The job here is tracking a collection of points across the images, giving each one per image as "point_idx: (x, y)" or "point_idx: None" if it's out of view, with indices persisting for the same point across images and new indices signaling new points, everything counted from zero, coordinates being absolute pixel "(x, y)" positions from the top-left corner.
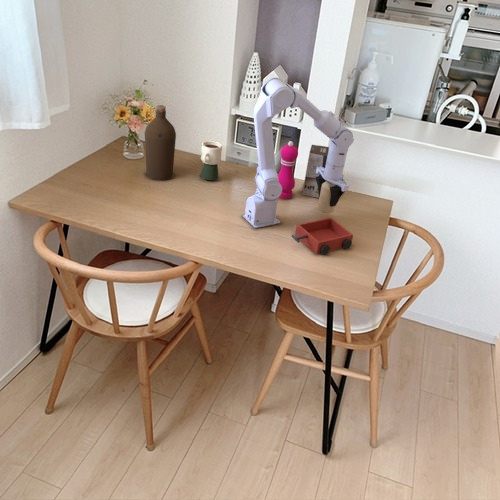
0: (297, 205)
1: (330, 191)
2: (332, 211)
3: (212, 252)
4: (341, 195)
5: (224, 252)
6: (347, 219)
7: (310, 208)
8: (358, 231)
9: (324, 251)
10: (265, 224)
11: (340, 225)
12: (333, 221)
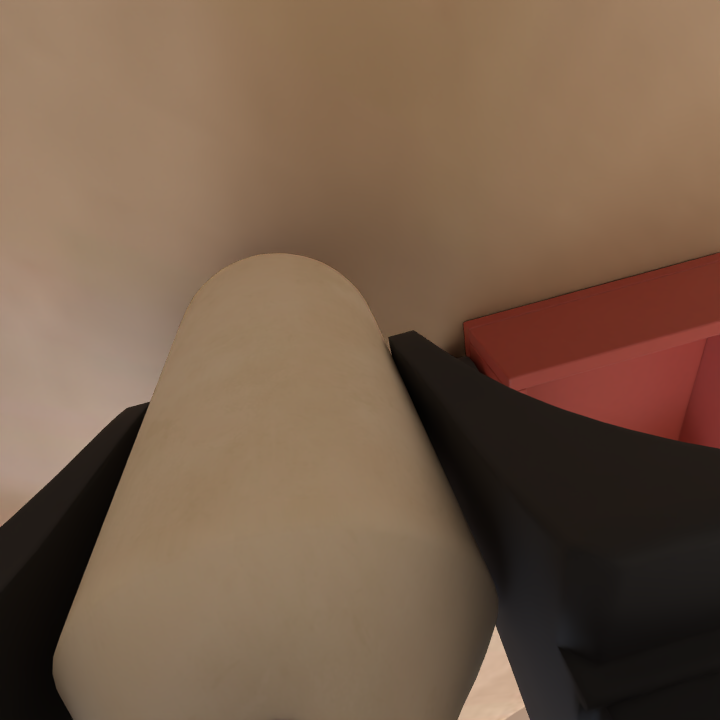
0: (60, 452)
1: (513, 661)
2: (364, 300)
3: (487, 711)
4: (554, 414)
5: (499, 693)
6: (343, 27)
7: (101, 365)
8: (609, 33)
9: None
10: None
11: (664, 344)
12: (567, 373)
